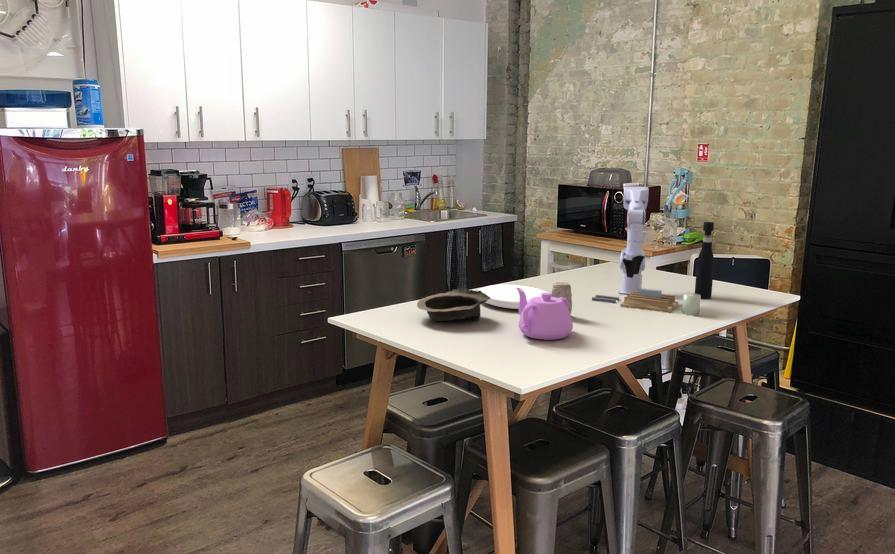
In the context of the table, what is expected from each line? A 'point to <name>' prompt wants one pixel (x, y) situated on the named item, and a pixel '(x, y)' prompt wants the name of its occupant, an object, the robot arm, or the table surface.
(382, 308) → the table surface
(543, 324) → the teapot
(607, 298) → the drying stand
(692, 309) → the pale green cylinder
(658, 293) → the light blue slab
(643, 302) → the dish rack
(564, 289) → the carving
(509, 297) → the plate
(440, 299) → the stone bowl
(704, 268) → the black thermos bottle
